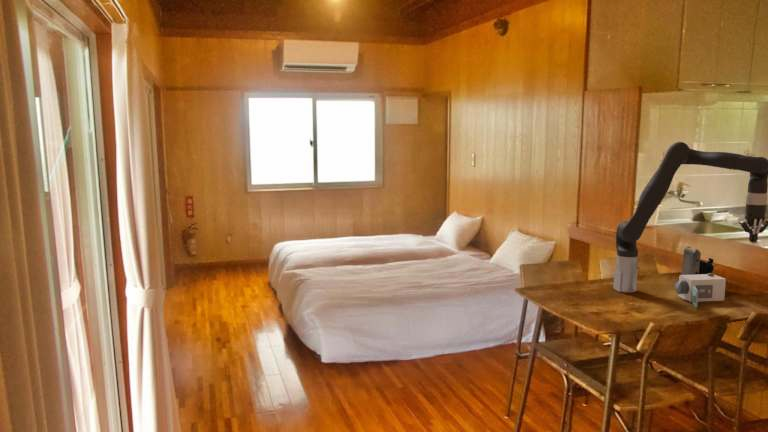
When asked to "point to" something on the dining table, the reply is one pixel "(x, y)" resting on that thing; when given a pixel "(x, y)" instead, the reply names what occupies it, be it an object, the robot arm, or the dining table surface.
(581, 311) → the dining table surface
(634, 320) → the dining table surface
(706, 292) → the camera body
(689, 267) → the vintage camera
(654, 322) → the dining table surface
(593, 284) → the dining table surface
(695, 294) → the side door
